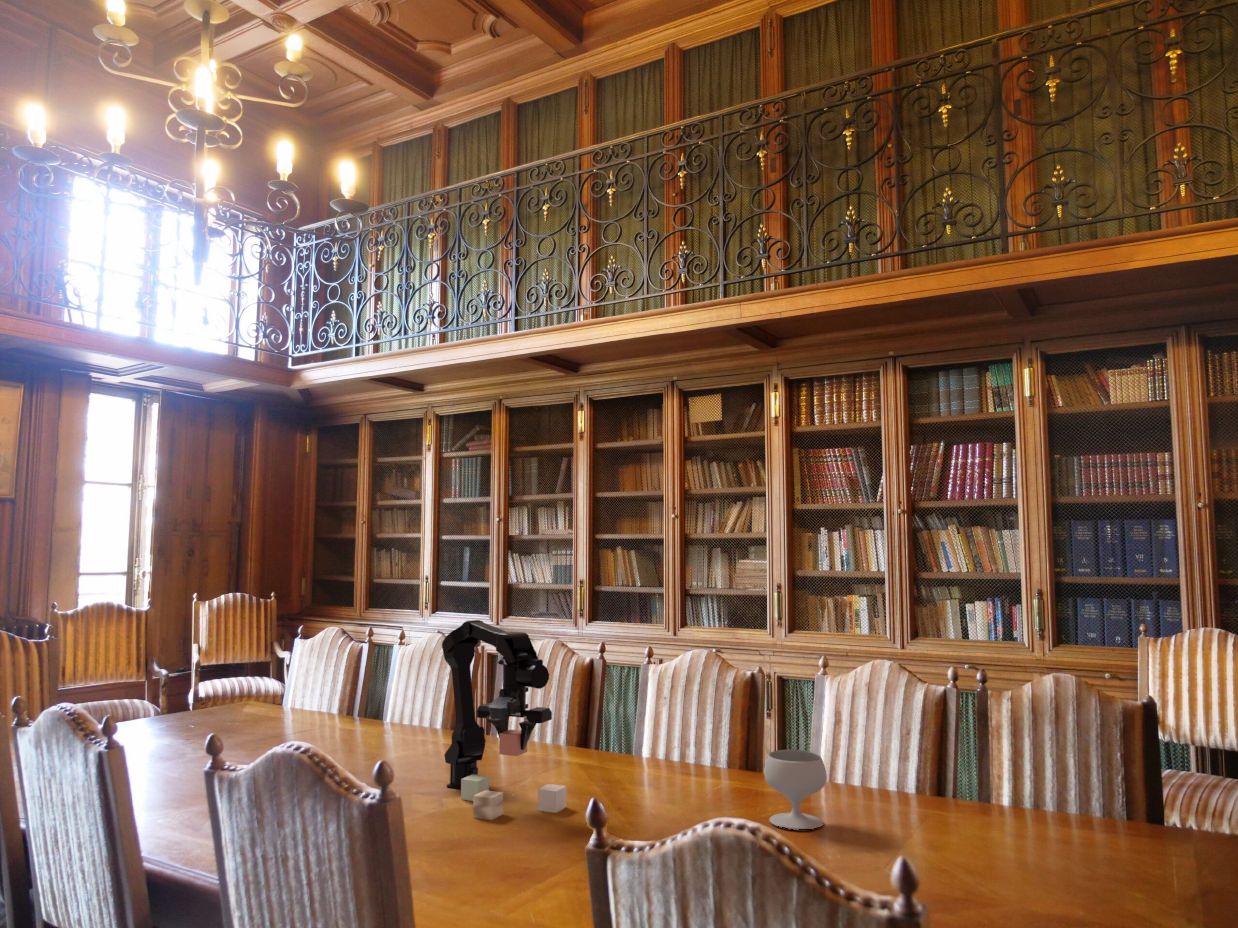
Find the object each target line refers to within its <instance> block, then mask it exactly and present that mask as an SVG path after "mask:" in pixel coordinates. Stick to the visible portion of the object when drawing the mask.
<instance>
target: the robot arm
mask: <svg viewBox="0 0 1238 928" xmlns="http://www.w3.org/2000/svg"><path fill="white" fill-rule="evenodd" d="M481 642H482V643H486V644H488V645H490V646H492V647H494V648H495V651H496V652H497V653H498V654H500V655H501V656H502V658H500V659H499V660H498V661H497V664H498V665H500V666H501V665H502V688H500V689H499V692H498V693H499V695H498V697H496V698H495V699H494V700H493V701H492V702H487V703H484V704H480V705H479V706H478V707H477V708H476V711H475V704H474V703H475V702H474V694H473V693H474V692H473V683H472V681H473V680H472V673H471V665H472V662H473V660H474V657H476V656H475V654H476V651H475V649H476V647H477V646H478V645H479V644H480V643H481ZM441 649H442V652H443V657H444V660H445V662H446V663H447V664H448V666H449V668H450V669H451V677H452V687H453V688H452V689H453V698H454V699H453V700H454V709H455V710H454V711H455V718H456V719H455V720H456V725H455V727H454V728H453V731H452V734H451V744H450V746H449V748H448V749H447V750H446V751H445V753H444V763H446V764H448V765H450V768H449V769H450V774H449V775H450V778H449V782H450V783H447V784H446V787H447V788H453V789H454V788H455V789H458V790H459V789H460V790H461V779H463V778H465V777H467V776H470V775H472V774H474V775H479V767H478V764H477V763H478V761H482V760H483V757H484V756H483V755H484V751H485V749H486V742H487V740H486V737H485V728H484V726H480V725H479V724H478V723H477V721H476V718H478V719H479V718H480V719H487V718H488V719H487V722H488V723H491V724H492V725H493V726H494V728H495V731H496V732H497V736H498V739H499V740H500V733H502V732H505V731H507V730H509V721H510V717H514V718H522V719H523V721H520V722H519V723H518V725H519V727H520V731H521V750H524V749H525V747H526V744H527V745H528V741H529V739H530V737H531V735H532V732H533V730H534V729H535V727H536V725H537V724H543V723H546V722H549V721H551V720H553V717H552V716H553V712H552V710H551V709H550V707H540V706H536V707H533V708H530V709H529V704H528V703H526V701H527V700H526V699H527V696H526V695H527V692H529V688H532V689H538V690H541V689H543V688H544V687H546V685H548V682H549V679H550V673H549V670H548V668H547V667H546V666H545V665H544V664H543V662H544V660H543V659H539V657H538V655H537V654H538V653H537V651H536V650H535V648H534V646H533V643H532V641H531V638H530V636H529V635H528V633H526V632H523V631H522V632H521V631H520V632H519V631H506V630H504V629H501V628H498V627H495V626H493V625H491V624H488V623H485V622H484V621H482V620H480V619H475V620H474V619H472V620H466V621H464V622H463V623H462V624H461V625H460V626H459V627H457V628H456V629H454V630H452V631H451V632H449V633H448V634H447V635H446V636H445V637H444V639H443V640H442V643H441ZM475 713H476V714H475Z"/></svg>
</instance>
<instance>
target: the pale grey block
mask: <svg viewBox="0 0 1238 928" xmlns="http://www.w3.org/2000/svg"><path fill="white" fill-rule="evenodd" d="M565 808H567V786H566V785H561V784H552V783H547V784H544V785H543V786H542V787H540V788H537V811H540V812H547V813H556V814H558V813H559V812H561V811H562V810H564V809H565Z"/></svg>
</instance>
